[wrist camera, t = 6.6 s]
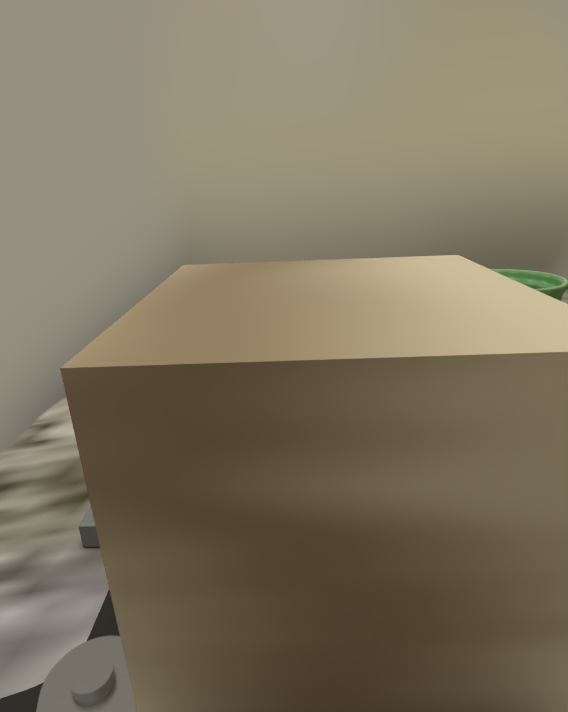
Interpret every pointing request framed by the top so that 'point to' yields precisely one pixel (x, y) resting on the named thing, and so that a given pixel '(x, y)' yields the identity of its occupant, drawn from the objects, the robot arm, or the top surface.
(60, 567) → the top surface
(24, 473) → the top surface
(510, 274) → the ramekin
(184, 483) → the tall wooden block
